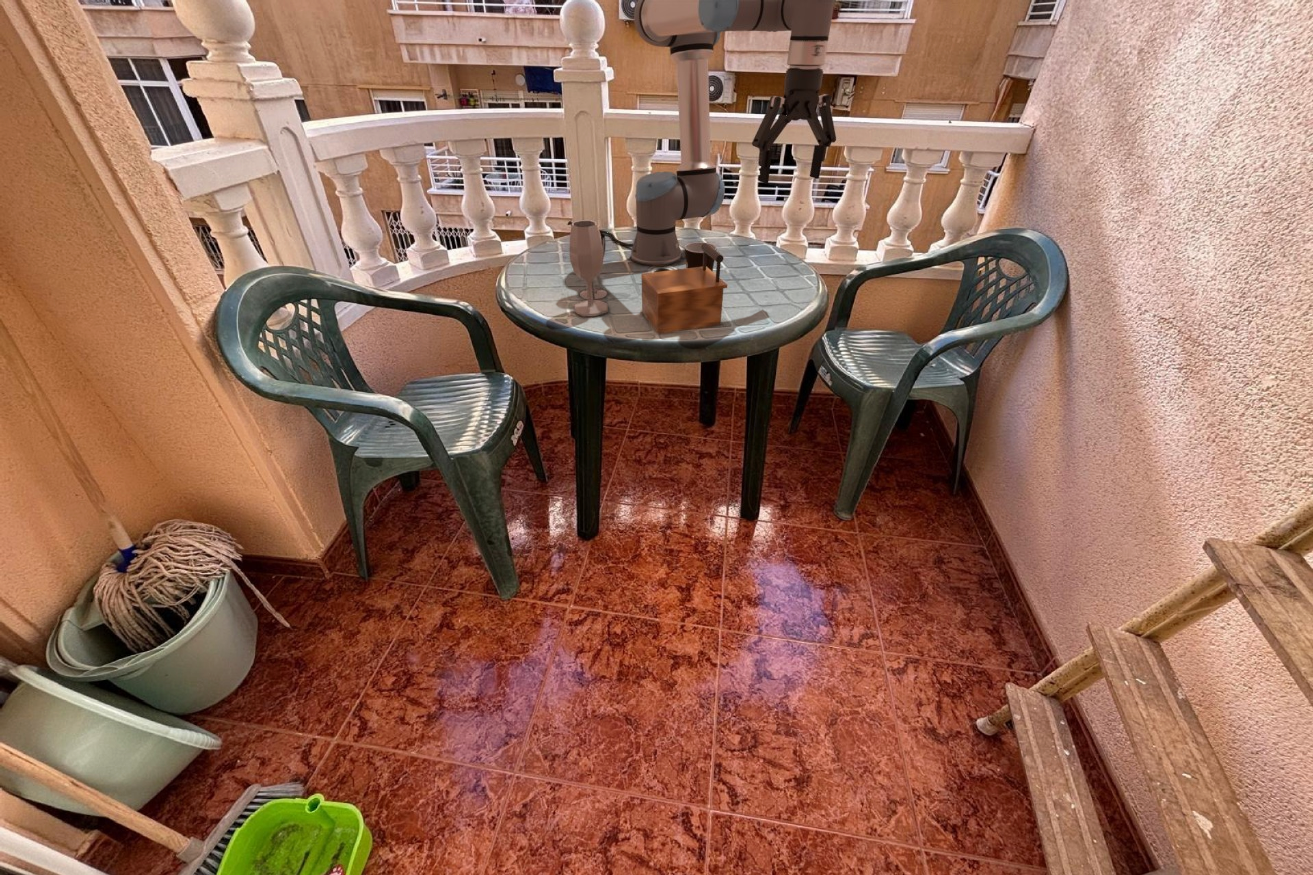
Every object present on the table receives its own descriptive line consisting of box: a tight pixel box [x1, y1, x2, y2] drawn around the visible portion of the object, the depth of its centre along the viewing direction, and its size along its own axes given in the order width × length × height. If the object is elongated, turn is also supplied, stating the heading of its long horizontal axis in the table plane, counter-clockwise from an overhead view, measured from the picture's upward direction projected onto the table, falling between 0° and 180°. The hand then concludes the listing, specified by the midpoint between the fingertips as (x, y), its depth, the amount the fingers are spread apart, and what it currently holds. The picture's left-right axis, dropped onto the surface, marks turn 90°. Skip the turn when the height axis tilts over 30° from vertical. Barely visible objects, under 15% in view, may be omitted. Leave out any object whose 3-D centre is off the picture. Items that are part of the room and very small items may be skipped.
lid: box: [641, 242, 728, 297], centre depth 122 cm, size 17×13×7 cm
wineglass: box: [568, 219, 609, 317], centre depth 127 cm, size 9×9×21 cm
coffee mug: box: [684, 241, 718, 273], centre depth 146 cm, size 12×9×10 cm
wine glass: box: [579, 233, 608, 300], centre depth 137 cm, size 8×8×15 cm
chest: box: [641, 277, 724, 335], centre depth 127 cm, size 16×13×9 cm
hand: (789, 180), depth 122 cm, fingers open, 13 cm apart
